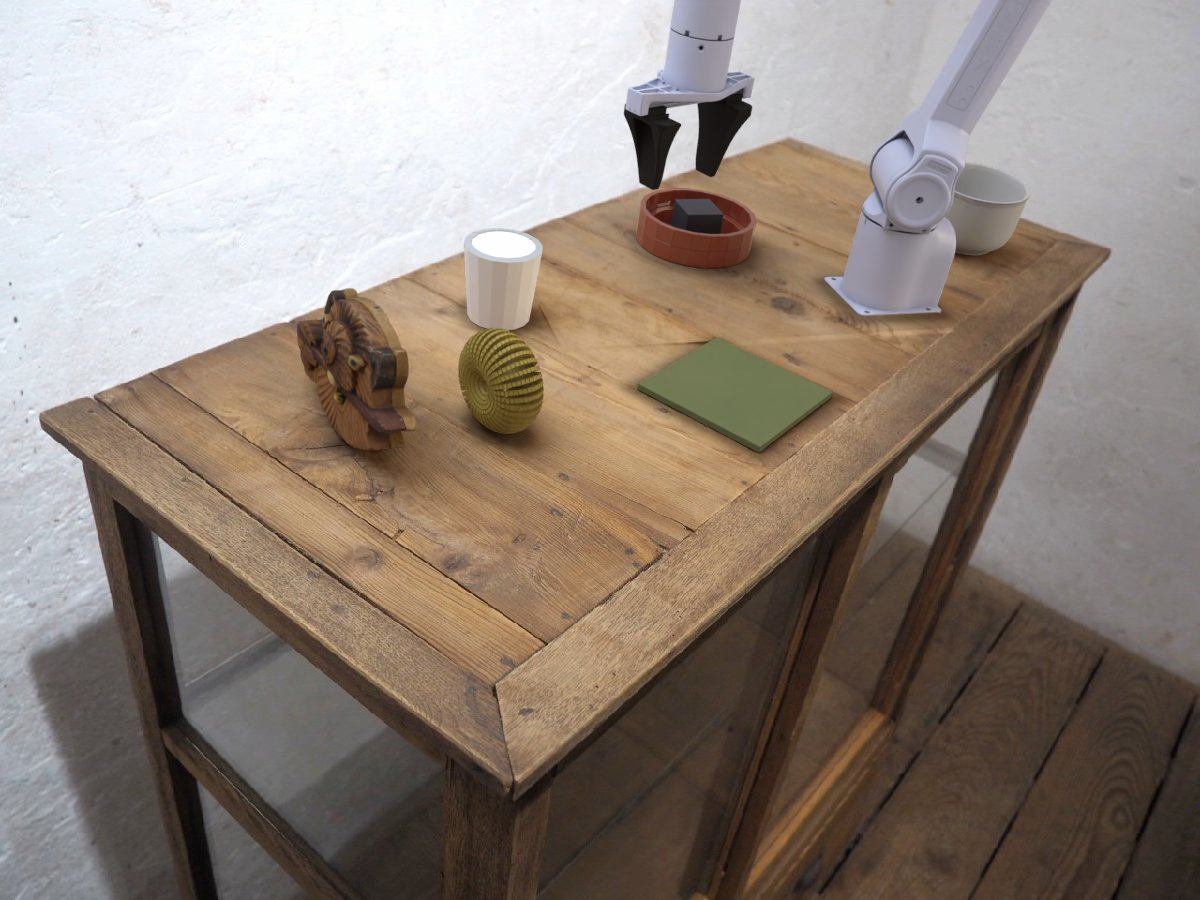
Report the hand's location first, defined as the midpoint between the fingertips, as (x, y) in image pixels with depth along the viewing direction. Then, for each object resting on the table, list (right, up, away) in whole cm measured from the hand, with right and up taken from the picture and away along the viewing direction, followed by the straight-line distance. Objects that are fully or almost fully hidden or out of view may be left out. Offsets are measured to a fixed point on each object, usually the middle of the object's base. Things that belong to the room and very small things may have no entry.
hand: (677, 179), depth 100 cm
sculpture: (-15, -24, -20) cm, 35 cm away
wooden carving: (-26, -24, -22) cm, 42 cm away
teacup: (+33, -2, +21) cm, 39 cm away
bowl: (+2, -4, +11) cm, 12 cm away
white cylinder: (-17, -14, -6) cm, 22 cm away
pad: (+4, -21, -12) cm, 25 cm away
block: (+2, -4, +11) cm, 12 cm away
